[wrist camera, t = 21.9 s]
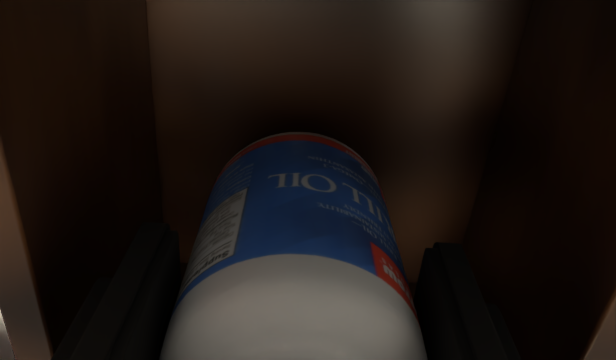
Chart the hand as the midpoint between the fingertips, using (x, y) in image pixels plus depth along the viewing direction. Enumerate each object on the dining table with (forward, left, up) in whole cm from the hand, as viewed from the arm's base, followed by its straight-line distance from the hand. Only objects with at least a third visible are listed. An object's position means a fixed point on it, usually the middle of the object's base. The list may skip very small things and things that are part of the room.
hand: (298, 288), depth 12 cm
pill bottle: (+1, 0, -5) cm, 5 cm away
